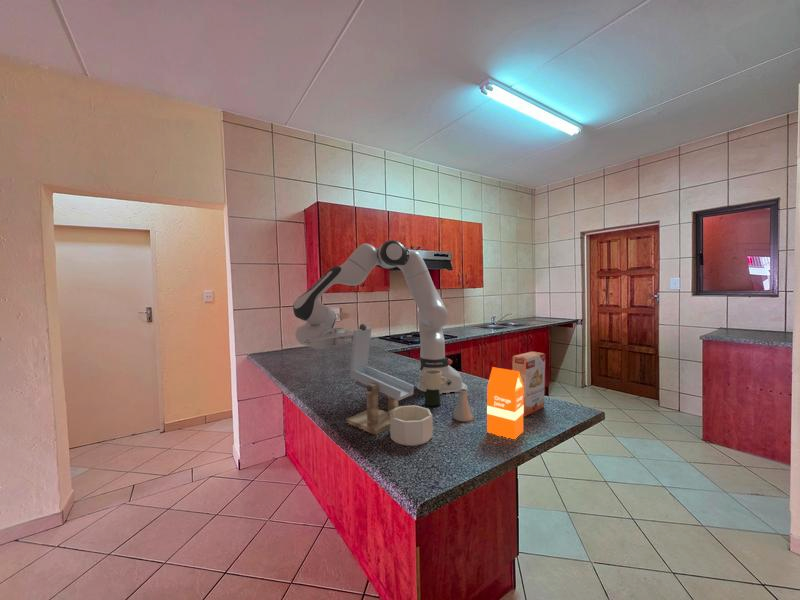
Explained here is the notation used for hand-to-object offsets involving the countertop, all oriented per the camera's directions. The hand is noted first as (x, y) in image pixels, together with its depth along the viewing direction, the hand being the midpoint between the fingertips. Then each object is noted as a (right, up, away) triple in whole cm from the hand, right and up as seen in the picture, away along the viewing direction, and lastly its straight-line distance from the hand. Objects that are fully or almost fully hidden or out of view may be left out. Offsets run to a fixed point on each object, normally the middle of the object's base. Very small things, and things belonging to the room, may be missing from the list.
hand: (348, 341), depth 114 cm
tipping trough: (+12, -15, -9) cm, 21 cm away
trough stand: (+10, -26, -7) cm, 29 cm away
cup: (+22, -27, -17) cm, 38 cm away
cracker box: (+66, -26, +2) cm, 71 cm away
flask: (+41, -26, -4) cm, 49 cm away
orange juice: (+52, -27, -15) cm, 60 cm away
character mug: (+31, -26, +9) cm, 42 cm away
